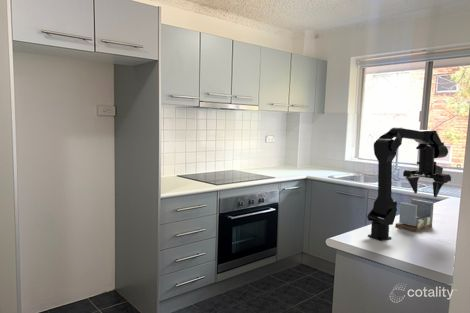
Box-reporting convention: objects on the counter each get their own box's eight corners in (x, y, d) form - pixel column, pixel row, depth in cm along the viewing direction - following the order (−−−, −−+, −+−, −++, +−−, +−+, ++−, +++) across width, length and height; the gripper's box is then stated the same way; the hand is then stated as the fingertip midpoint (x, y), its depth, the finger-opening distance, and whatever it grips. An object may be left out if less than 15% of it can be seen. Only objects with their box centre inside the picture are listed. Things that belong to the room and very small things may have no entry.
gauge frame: (416, 232, 151) (416, 221, 150) (395, 226, 158) (395, 216, 158) (432, 226, 159) (433, 216, 159) (412, 222, 167) (412, 212, 166)
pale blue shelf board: (420, 228, 150) (421, 206, 150) (399, 223, 158) (400, 202, 157) (424, 226, 153) (426, 205, 152) (403, 221, 160) (405, 201, 160)
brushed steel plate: (430, 224, 158) (431, 203, 157) (410, 219, 165) (411, 199, 165) (432, 223, 159) (433, 202, 158) (412, 218, 167) (413, 198, 166)
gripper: (460, 160, 147) (458, 196, 149) (419, 156, 164) (418, 189, 166) (443, 162, 142) (441, 200, 144) (402, 157, 159) (401, 192, 161)
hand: (425, 195), depth 154 cm, fingers open, 9 cm apart
